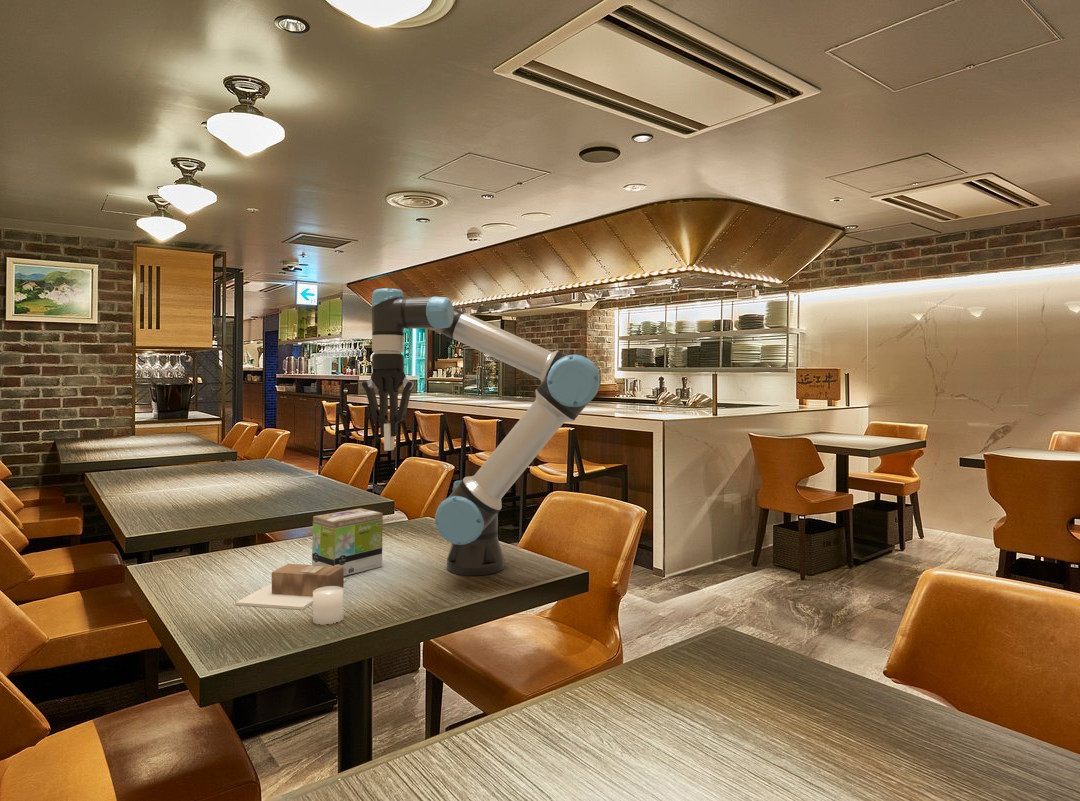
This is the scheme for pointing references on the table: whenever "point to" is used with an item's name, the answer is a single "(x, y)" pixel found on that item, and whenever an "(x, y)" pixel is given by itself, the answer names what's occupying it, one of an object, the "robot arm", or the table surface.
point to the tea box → (348, 540)
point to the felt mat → (275, 600)
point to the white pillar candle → (328, 605)
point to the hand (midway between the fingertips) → (389, 449)
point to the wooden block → (305, 579)
